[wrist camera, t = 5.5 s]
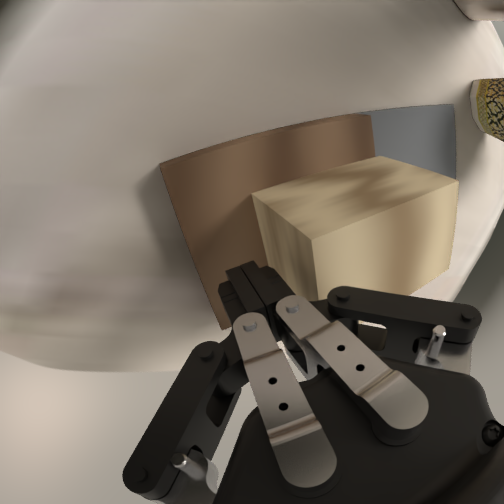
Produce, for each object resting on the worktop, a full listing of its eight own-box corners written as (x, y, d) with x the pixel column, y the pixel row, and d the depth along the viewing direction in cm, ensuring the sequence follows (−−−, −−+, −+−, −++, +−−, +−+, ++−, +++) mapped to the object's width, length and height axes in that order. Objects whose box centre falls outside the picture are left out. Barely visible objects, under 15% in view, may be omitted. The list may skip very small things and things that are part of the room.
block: (380, 155, 18) (458, 180, 13) (383, 228, 21) (448, 268, 16) (251, 193, 17) (311, 239, 11) (270, 276, 20) (322, 343, 14)
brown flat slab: (353, 113, 19) (370, 115, 17) (365, 250, 25) (379, 261, 23) (159, 163, 16) (160, 168, 14) (215, 314, 22) (221, 330, 20)
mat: (451, 104, 21) (453, 104, 21) (452, 200, 27) (454, 201, 26) (353, 113, 19) (355, 113, 18) (364, 241, 24) (366, 242, 24)
